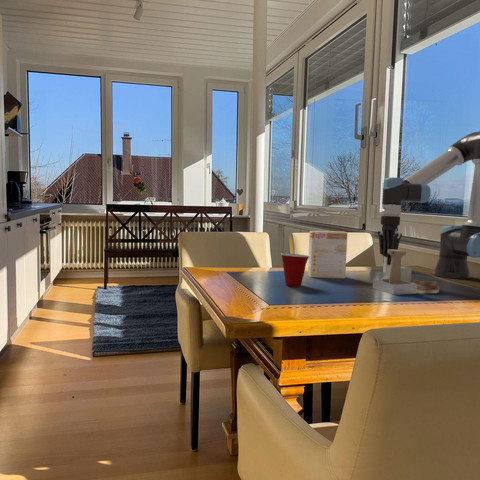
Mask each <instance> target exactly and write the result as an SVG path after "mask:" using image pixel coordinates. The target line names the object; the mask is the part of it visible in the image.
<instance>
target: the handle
mask: <svg viewBox="0 0 480 480" xmlns="http://www.w3.org/2000/svg"><path fill="white" fill-rule="evenodd" d="M388 254H390V255H391V267H390V275H389V274H388V276H389V283H392V284H400V279H401V265H402V257H404V256H405V255H406V254H407V251H406V250H402V249H398V250H394V249H388Z"/></svg>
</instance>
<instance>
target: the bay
mask: <svg viewBox="0 0 480 480" xmlns="http://www.w3.org/2000/svg"><path fill="white" fill-rule="evenodd" d="M382 279H389V277H388V276H382ZM411 283H415V284H417V293H416V294H439V293H440V285H437V281H436V280H435V281H420V280H417V279H413V278H411Z"/></svg>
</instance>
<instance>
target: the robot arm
mask: <svg viewBox="0 0 480 480" xmlns="http://www.w3.org/2000/svg"><path fill="white" fill-rule="evenodd" d="M469 161H471V163H472V164H473V165H474V170H473V178H472V184H471V191H470V192H471V193H470V197H469V205H468V210H467V211H468V212H467V218H466V221H465V222H464V223H462V225H447V226H446V225H445V226H443V227H441V230H440V234H439V235H440V239H439V240H440V241H439V256H438V259H437V263H436V265H435V267H434V269H433V276H435V277H436V276H437V277H441V278H448V279H459V280H460V279H470V278H471V271H470V270H469V264H468V257H471V258H473V259H480V131H474V132H471V133H469V134H467V135H465V136H463V137H462V138H460V139H459V140H457V141H456V142H454V143H453V144H451V145H449V146H448V147H447V149H446V151H445V152H444V153H441V155H439V156H437V157H435V159H433V160H431V161H429V162H428V163H426V165H424V166H423V167H420V168H419V169H418V170H416V171H415V172H414V173H412V174H411V175H409V176H407V177H406V178H404V179H403V178H402V177H385V178H384V179H383V183H382V195H381V196H382V200H381V213H380V214H381V217H380V225H382V227H381V230H380V231H379V230H378V231H377V235H378V243H379V254H380V255H382V256H383V257H382V258H383V259H382V264H383V266H382V267H383V268H382V273H387V274H389V266H391V255H390V254H388V249H394V250H399V245H400V241H401V238H402V236H403V233H400V232H399V228H398V226H400V224H401V217H400V216H401V215H402V214H401V213H402V203H427V202H428V201H429V200H430V198H431V194H432V191H431V187H430V186H429V184H431V183H432V182H434V181H435V180H436V179H438V178H439V177H441V176H442V175H444V174H445V173H447V172H448V171H450V170H451V169H453V168H454V167H456V166H462V165H463V164H465V163H467V162H469Z"/></svg>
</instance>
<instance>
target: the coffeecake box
mask: <svg viewBox="0 0 480 480" xmlns="http://www.w3.org/2000/svg"><path fill="white" fill-rule="evenodd" d="M347 247H348V232H346V231H338V230H337V231H336V230H335V231H333V230H332V231H331V230H309V239H308V256H309V258H308V260H307V276H309V277H310V278H317V279H319V278H322V279H323V278H325V279H327V278H328V279H346V270H347V269H346V268H347V266H346V265H347V253H348V252H347V251H348V249H347Z"/></svg>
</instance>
